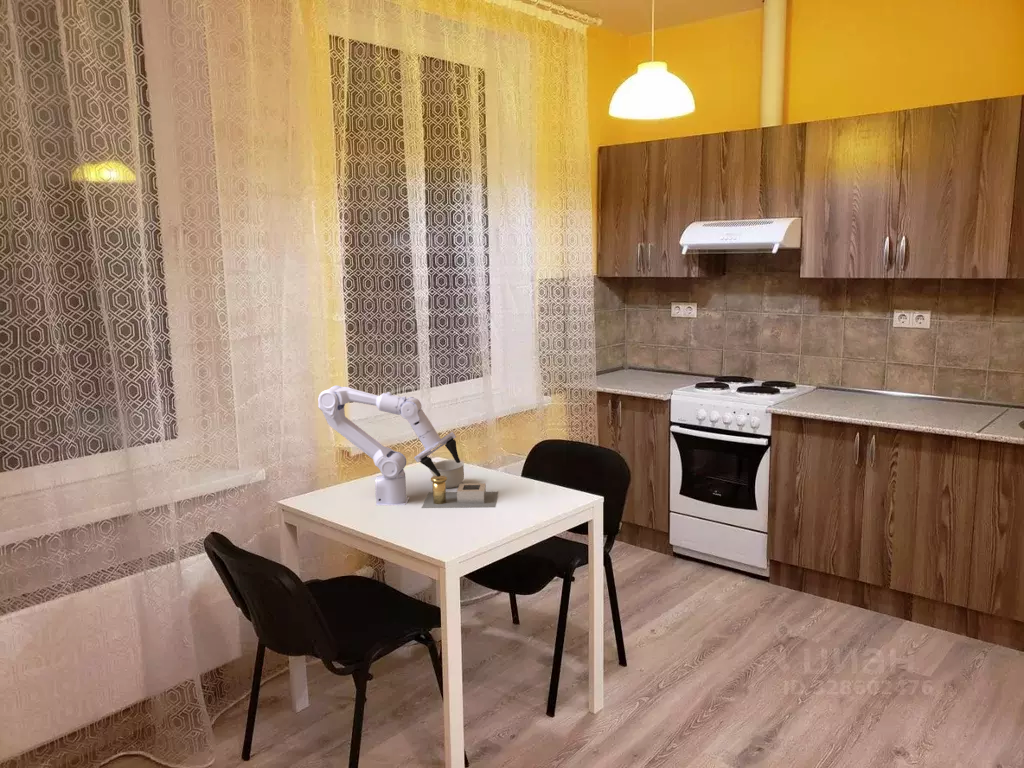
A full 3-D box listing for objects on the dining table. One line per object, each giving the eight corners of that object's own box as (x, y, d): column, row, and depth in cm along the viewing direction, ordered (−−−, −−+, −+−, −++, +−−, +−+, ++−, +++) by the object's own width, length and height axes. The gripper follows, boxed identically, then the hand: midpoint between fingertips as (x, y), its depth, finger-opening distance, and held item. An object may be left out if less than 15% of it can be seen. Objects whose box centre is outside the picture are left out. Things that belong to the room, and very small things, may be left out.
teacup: (470, 486, 259) (470, 463, 258) (444, 493, 253) (443, 470, 251) (447, 478, 270) (446, 456, 269) (421, 484, 263) (420, 462, 262)
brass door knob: (430, 504, 240) (429, 480, 238) (433, 499, 244) (432, 475, 243) (446, 504, 239) (445, 480, 238) (448, 499, 244) (447, 475, 243)
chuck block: (457, 503, 240) (456, 491, 239) (460, 495, 248) (459, 483, 248) (484, 503, 240) (483, 491, 239) (486, 495, 248) (485, 483, 247)
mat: (421, 509, 237) (421, 507, 237) (429, 493, 253) (428, 492, 252) (495, 508, 236) (495, 507, 236) (498, 492, 252) (498, 491, 251)
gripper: (410, 444, 233) (433, 482, 234) (448, 419, 238) (471, 456, 239) (404, 445, 239) (427, 482, 240) (442, 421, 245) (464, 456, 246)
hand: (449, 469), depth 240 cm, fingers open, 7 cm apart
